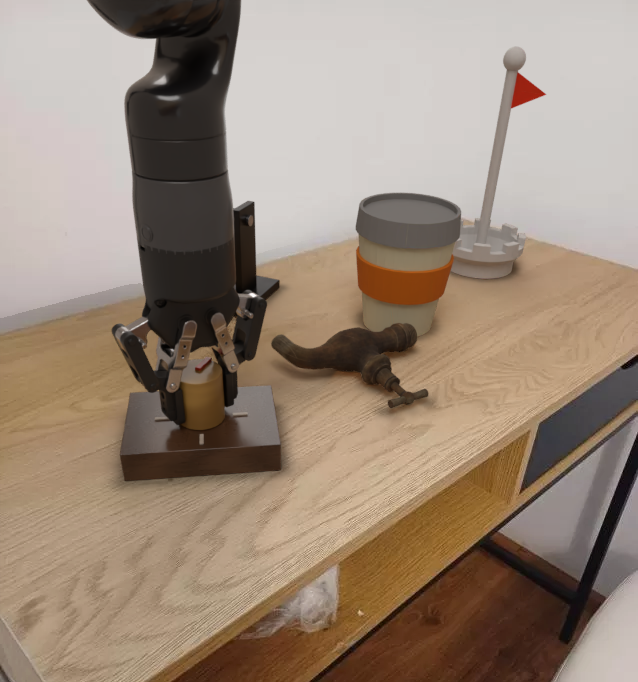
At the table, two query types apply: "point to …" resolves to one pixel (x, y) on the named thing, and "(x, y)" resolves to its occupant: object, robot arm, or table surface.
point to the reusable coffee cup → (404, 257)
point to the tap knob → (202, 394)
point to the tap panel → (201, 439)
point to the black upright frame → (249, 254)
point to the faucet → (358, 356)
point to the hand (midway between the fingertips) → (201, 410)
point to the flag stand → (480, 239)
